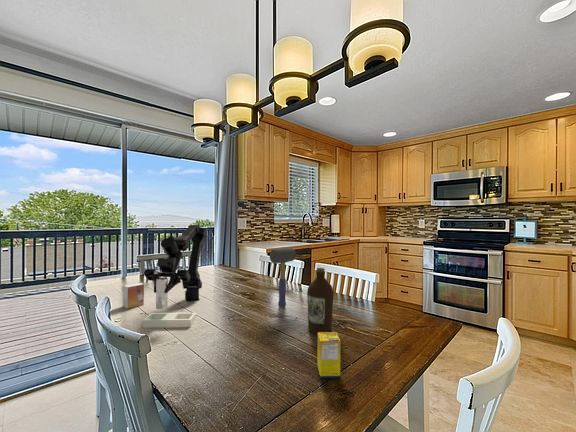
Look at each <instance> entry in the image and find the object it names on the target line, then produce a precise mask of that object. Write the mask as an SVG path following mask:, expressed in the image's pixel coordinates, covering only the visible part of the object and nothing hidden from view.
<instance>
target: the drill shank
mask: <svg viewBox="0 0 576 432" xmlns="http://www.w3.org/2000/svg"><path fill="white" fill-rule="evenodd" d="M168 279H169V277H161V278H158V279H156V293H155V309H156V310H164V309H167V308H168V294H169V293H165V290H166V288H167V285H168V283H169V280H168Z"/></svg>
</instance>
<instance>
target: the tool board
mask: <svg viewBox="0 0 576 432" xmlns="http://www.w3.org/2000/svg"><path fill="white" fill-rule="evenodd" d="M196 320H197V312H150V313H149V314H148V315H147V316H146V317H145V318H143V319H142V322H141V323H142V326H141V327H142V328H143V329H145V328H147V329H148V328H153V329H154V328H191V327H192V326H193V325H194V323H195V322H196Z"/></svg>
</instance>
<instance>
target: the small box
mask: <svg viewBox="0 0 576 432" xmlns="http://www.w3.org/2000/svg"><path fill="white" fill-rule="evenodd" d="M144 303H145V284H144V283H141V282H137V283H132V284H131V283H130V284H126V285H125V284H123V285H122V307H123V308H125V309H132V308H136V307H141V306H145V305H144Z"/></svg>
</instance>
